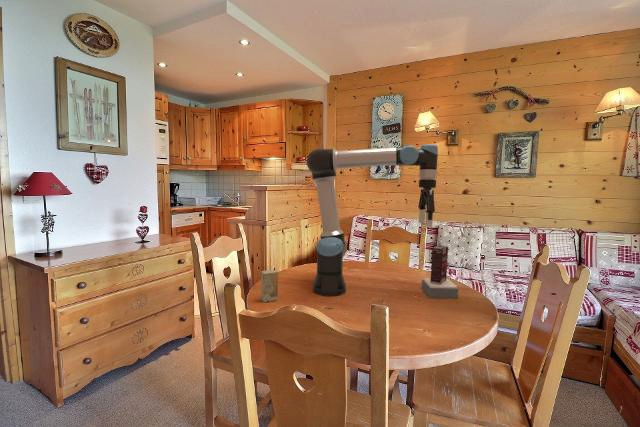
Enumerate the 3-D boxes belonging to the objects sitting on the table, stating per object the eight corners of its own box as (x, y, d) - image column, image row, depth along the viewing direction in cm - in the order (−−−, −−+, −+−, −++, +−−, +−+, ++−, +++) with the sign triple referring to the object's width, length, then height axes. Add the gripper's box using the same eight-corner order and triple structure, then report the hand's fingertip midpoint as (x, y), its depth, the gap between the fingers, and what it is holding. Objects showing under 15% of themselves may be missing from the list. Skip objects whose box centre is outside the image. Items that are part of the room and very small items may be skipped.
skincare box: (263, 302, 132) (263, 273, 131) (260, 299, 136) (260, 271, 135) (278, 300, 135) (278, 271, 134) (275, 296, 139) (274, 269, 138)
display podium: (429, 297, 139) (429, 286, 138) (421, 288, 151) (422, 278, 150) (457, 298, 138) (458, 287, 138) (447, 289, 150) (448, 278, 150)
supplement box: (441, 285, 140) (442, 249, 139) (429, 283, 143) (431, 247, 141) (447, 280, 147) (448, 246, 145) (436, 278, 150) (437, 244, 148)
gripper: (444, 179, 135) (441, 229, 137) (428, 179, 160) (426, 221, 162) (426, 178, 136) (423, 228, 138) (413, 178, 160) (411, 221, 163)
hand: (425, 225), depth 150 cm, fingers open, 13 cm apart
